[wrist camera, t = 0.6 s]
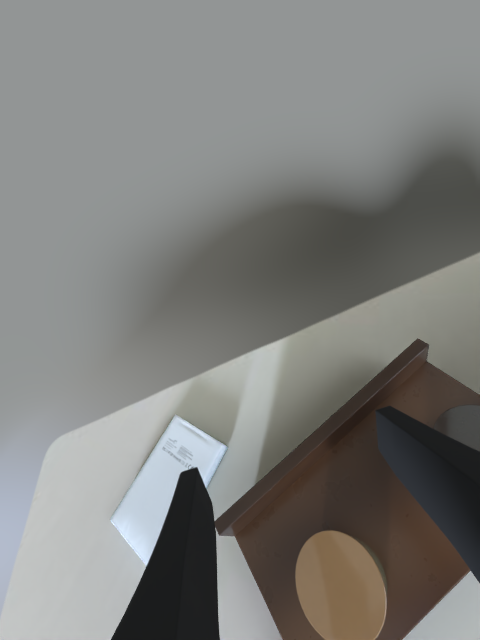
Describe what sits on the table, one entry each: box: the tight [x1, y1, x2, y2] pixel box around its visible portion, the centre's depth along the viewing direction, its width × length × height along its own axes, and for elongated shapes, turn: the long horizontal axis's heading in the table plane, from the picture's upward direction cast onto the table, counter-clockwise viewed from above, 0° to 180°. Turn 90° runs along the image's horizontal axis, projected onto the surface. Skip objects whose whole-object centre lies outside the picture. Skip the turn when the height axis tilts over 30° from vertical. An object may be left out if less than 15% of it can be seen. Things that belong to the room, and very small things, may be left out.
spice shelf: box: [215, 339, 480, 640], centre depth 21 cm, size 11×22×6 cm, turn 123°
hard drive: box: [110, 415, 228, 566], centre depth 31 cm, size 2×8×12 cm
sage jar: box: [295, 530, 388, 640], centre depth 17 cm, size 5×5×6 cm
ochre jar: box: [433, 405, 480, 451], centre depth 18 cm, size 5×5×6 cm
